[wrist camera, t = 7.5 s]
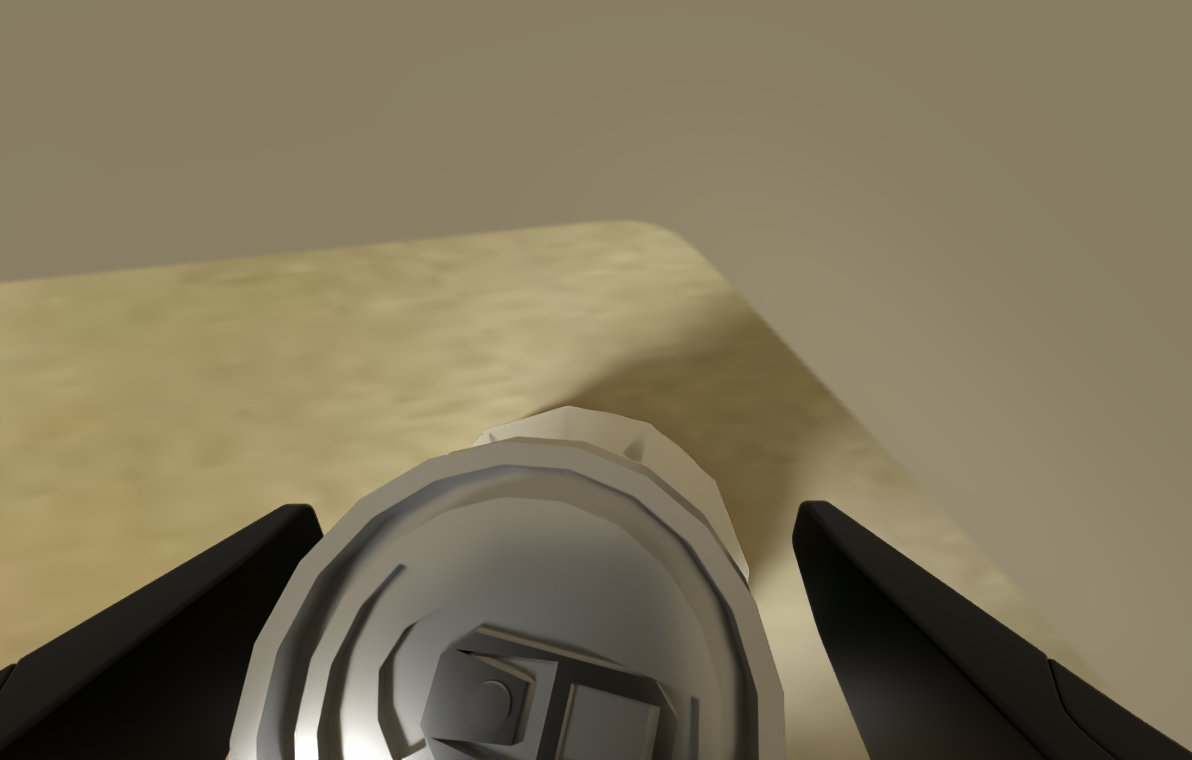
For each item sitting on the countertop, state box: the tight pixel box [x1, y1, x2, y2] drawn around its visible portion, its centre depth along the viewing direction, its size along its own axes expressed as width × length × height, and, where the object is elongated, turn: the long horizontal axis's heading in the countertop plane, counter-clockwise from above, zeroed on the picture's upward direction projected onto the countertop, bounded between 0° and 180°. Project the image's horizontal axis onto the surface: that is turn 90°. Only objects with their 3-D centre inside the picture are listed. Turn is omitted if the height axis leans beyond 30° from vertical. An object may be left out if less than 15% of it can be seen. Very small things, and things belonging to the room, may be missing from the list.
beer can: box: [230, 436, 786, 760], centre depth 10 cm, size 5×5×12 cm
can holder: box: [469, 405, 749, 584], centre depth 15 cm, size 11×11×4 cm
